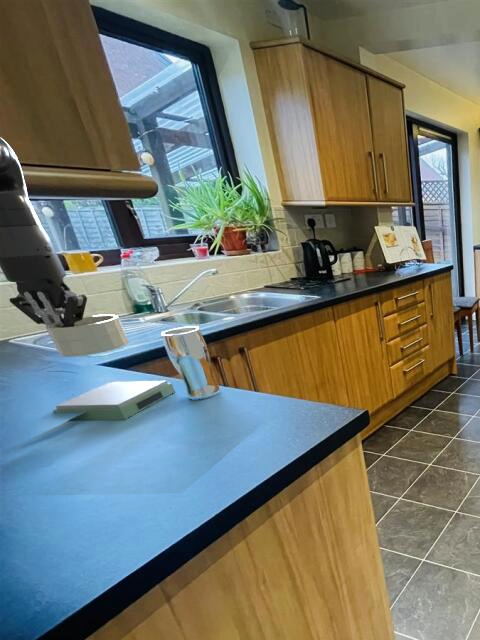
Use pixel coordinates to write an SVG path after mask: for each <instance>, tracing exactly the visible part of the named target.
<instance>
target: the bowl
mask: <svg viewBox="0 0 480 640" xmlns="http://www.w3.org/2000/svg"><path fill="white" fill-rule="evenodd" d="M74 326H75V327H66V328H58V327H59V326H57V325H56V323H53V324H50V325H47V326H46V325H45V329H46V331H47V333H48V335H49V337H50V339H51V341H52V343H53V345H54V347H55V349H56V351H57V353H58V354H59V355H60V356H61V357H66V358H71V357H72V358H73V357H75V358H76V357H84V356H91V355H97V354H102V353H107V352H111V351H114V350H118V349H120V348H121V349H122V348H124V347H125V346H127V345H128V344H129V343H130V341H129V338H128V336H127V334H126V331H125V329H124V327H123V325H122V322H121V320H120V318H119V316H118V315H115V314H98V315H89V316H83V319H82V320H81V321H77V322H75V323H74Z"/></svg>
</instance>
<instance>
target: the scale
mask: <svg viewBox="0 0 480 640" xmlns="http://www.w3.org/2000/svg"><path fill="white" fill-rule="evenodd" d="M174 392H175V393H176V391H175V388H174V385H173V383H172V382H168V381H167V380H141V381H140V380H139V381H138V380H136V381H135V380H134V381H133V380H132V381H131V380H130V381H110V382H107V383H105V384H103V385H100V386H98V387H96V388H93V389H91V390H89V391H87V392H85V393H82V394H79V395H77V396H75V397H73V398H70V399H68V400H66V401H63V402H61V403H59V404H57V405H55V409H53V410H52V412H53V413H56V414H59V413H81V414H79V415H76V416H74V417H72V418H70V419H68V420H67V421H68V422H70V421H72V422H73V421H112V420H113V421H115V420H116V421H122V420H124V419H125V420H127V419H129V418H130V416H131V417H133V416H134V414H135V413H136V414H138V413H140V412H142V411H144V410H145V408H146V407H147V408H149V407H151V406H153V405H155V404H156V403H155V402H157V401H158V402H160V401H162V400H163V399H162V398H164V397H166V396H168V395H169V396H171V395H173V394H175V393H174ZM172 393H173V394H172ZM170 394H171V395H170ZM169 396H168V397H169ZM166 398H167V397H166ZM161 399H162V400H161ZM164 399H165V398H164ZM159 400H160V401H159ZM158 402H157V403H158ZM154 403H155V404H154ZM152 404H153V405H152ZM150 405H151V406H150ZM148 406H149V407H148ZM147 408H146V409H147ZM143 409H144V410H143ZM141 410H142V411H141ZM139 411H140V412H139ZM137 412H138V413H137ZM136 414H135V415H136ZM132 415H133V416H132ZM128 417H129V418H128ZM125 420H124V421H125Z"/></svg>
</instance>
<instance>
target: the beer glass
mask: <svg viewBox="0 0 480 640" xmlns="http://www.w3.org/2000/svg"><path fill="white" fill-rule="evenodd" d="M160 335H161V338H162V342H163V345H164V348H165V351H166V354H167V356H168V359H169V360H170V362H171V363H172V365H173V367H174V369H175V370H176V372H177V373H178V374H179V376H180V378H181V380H182V381H183V383H184V384H185V389H186V395H187V399H188V400H190V399H192V400H191V401H199V399H200V400H205V399H209V398H212V397H214V396H216V395H218V394H219V393H220V392H221V389H220V386H219V385H218V384H217V382H216V380H215V378H214V375H213V370H212V361H211V356H210V352H209V349H208V345H207V342H206V340H205V338H204V336H203V334H202V331H201V329H200V327H199V326H183V327H177V328H172V329H168V330H165V331H162V332H161V333H160Z"/></svg>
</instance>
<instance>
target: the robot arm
mask: <svg viewBox="0 0 480 640" xmlns="http://www.w3.org/2000/svg"><path fill="white" fill-rule="evenodd" d="M0 270H1V272H2V273H3V275H4V277H5V279H6V281H8V282H10V283H15V284H16V291H17V292H18V294H17V296H16V297H15V296H14V297H11V298H10V297H9V303H11V305H13V306H14V307H16V308H17V309H18V310H19V311H21V312H22V313H23V314H24V315H25V316H27V318H29V319H31V320H32V321H33V322H34V323H35V324H37V325H45V327H46V326H47V325H50V324H53V323H56V325H57V326H59V327H58V328H66V327H75V326H74V323H75V322H77V321H81V320H82V319H83V317H84V314H85V310H86V306H87V303H88V297H87V296H86V295H85V294H77V293H75V292H73V291H71V288H70V286H69V285H68V284H67V283H66V281H65V280H64V278H65V277H66V276H67V273H66V270H65V268H64V266H63V264H62V262H61V260H60V258H59V255H58V253H57V251H56V249H55V248H54V245H53V242H52V240H51V239H50V236H49V235H48V234H47V232H46V230H45V229H44V227H43V225H42V224H41V222H40V219H39V218H38V215H37V214H36V211H35V209H34V207H33V205H32V203H31V201H30V200H29V197H28V191H27V185H26V182H25V178H24V174H23V170H22V166H21V164H20V161H19V160H18V157H17V155H16V154H15V152H14V149H12V147H11V146H10V145H9V144H8V143H7V141H5V139H3V138H2V136H1V137H0Z"/></svg>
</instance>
